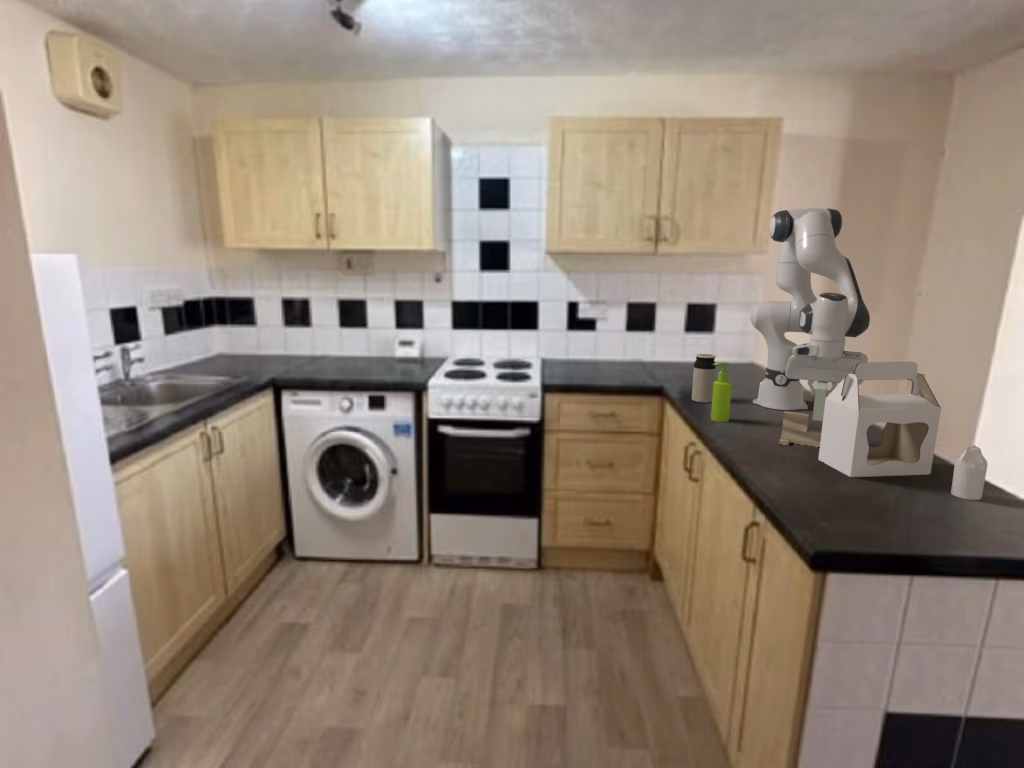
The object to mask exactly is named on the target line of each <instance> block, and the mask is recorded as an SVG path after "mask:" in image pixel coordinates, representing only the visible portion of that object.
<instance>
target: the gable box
mask: <svg viewBox="0 0 1024 768" xmlns="http://www.w3.org/2000/svg"><path fill="white" fill-rule="evenodd" d="M852 370H853V374H848V375H845V378H844V379H843V380H842V381H841V382H840V383H837V387H836V388H835V389H834V390H833V391H832V392H831V393H830V394H829V395H828V396H827V397H826V399H825V408H824V413H823V420H822V425H821V431H820V432H821V441H820V448H819V451H818V457H817V458H818V459H817V460H818V461H819V462H822V463H823V462H824V463H823V464H826V465H827V466H829V467H831V468H832V469H835V470H837V471H838V472H840V473H842V474H843V475H845V476H847V477H849V478H864V477H865V478H866V477H867V478H870V477H872V478H873V477H895V476H896V477H897V476H898V477H899V476H903V477H904V476H923V475H924V476H925V475H926V476H927V475H928V476H929V475H930V476H931V473H932V466H933V460H934V454H935V449H936V448H935V447H936V441H937V435H938V430H939V424H940V417H941V411H942V407H941V406H940V404H939V402H938V400H937V398H936V396H935V395H934V393H933V391H932V389H931V387H930V386H929V384H928V382H927V380H926V374H925V373H919V372H918V363H917V362H914V361H896V362H895V361H892V362H891V361H889V362H887V361H886V362H880V361H879V362H867V363H858V364H857V365H856V366H852ZM862 380H863V381H898V380H901V381H902V380H904V381H907V383H906V385H905V387H904V390H903V392H902V394H900V393H899V394H859V392H860V391H859V385H858V381H862ZM876 423H877V424H878V423H885V426H884V428H883V430H882V433H881V434H882V435H881V438H882V439H881V443H880V444H879V445H878V446H869V441H868V438H867V437H868V436H867V435H868V434H867V431H868V429H869V428H870V426H872V425H874V424H876Z"/></svg>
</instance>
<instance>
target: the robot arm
mask: <svg viewBox="0 0 1024 768" xmlns="http://www.w3.org/2000/svg"><path fill="white" fill-rule="evenodd" d="M842 227H843V217H842V214H841V212H840V211H839V210H837V209H832V208H826V209H825V208H813V207H812V208H811V207H810V208H802V209H801V208H800V209H799V208H798V209H792V210H787V209H784V210H780V211H777V212H775V213H774V214H773V215H772V217H771V220H770V222H769V227H768V230H769V234H770V238H771V239H772V241H774V242H777V243H778V242H779V243H781V244H780V247H779V251H778V257H777V264H776V273H775V274H776V275H775V276H776V277H775V284H776V286H777V287H778V288H779V289H780V290H781V291H783V292H786V293H788V294H790V295H791V296H792V298H793V299H792V301H791V300H790V301H783V300H782V301H779V300H778V301H776V300H772V301H771V300H770V301H762V302H758V303H756V304H755V305H754V306H753V308H751V311H750V316H749V317H750V318H749V319H750V323H751V324H752V326H753V327H754V329H756V330H757V331H758V332H759V333H760V334H761V335H762V336H763V338H764V340H765V342H766V344H767V345H766V346H767V366H766V368H765V371H764V377H765V378H764V379H763V380H761V382H760V383H759V388H758V394H757V395H758V397H757V398H755V399H752V403H753V404H755V405H759V406H761V407H764V408H768V409H772V410H781V411H798V410H808V408H809V407H808V405H807V403H806V402H805V400H804V398H805V395H804V389H805V388H804V386H803V384H802V383H801V381H802V380H803V381H807V385H808V387H809V389H810V390H811V391H810V396H813V397H815V393H816V388H815V387H814V386H813V384H814V382H818V381H822V382H828V383H831V386H832V387H831V388H830V389H827V391H826V397H827V396H828V395H829V394H830V393H831V392H832V391H833V390H834V389H835V388H836V387H837V385H838V384H839V383H840V382H841V381H842V380H843V379H844V378H845V375H848V374H853V370H852V366H856V365H857V364H858V363H868V360H869V359H868V357H867V355H866V354H865V353H863V352H862V351H850V350H849V351H848V350H845V345H846V337H847V338H857V337H858V336H860V335H862V334H863V333H865V332H866V331H867V330H868V328H869V327H870V321H871V318H870V317H871V316H870V312H869V310H868V308H867V306H866V304H865V302H864V299H863V297H862V293H861V291H860V287H859V284H858V281H857V277H856V275H855V272H854V269H853V266H852V264H851V261H850V259H849V258H847V257H846V256H844V255H843V254H842V253H841V252H840V250H839V249H838V248H837V245H836V240H835V239H836V238H837V237H838V236H839V235H840V233H841V230H842ZM812 274H815V275H819V276H822V277H825V278H828V279H829V280H831V281H833V282H834V283H836V285H837V287H838V289H839V293H837V292H824V293H823V292H822V293H819V294H818V296H816V295H815V293H814V292H813V288H812V283H811V282H812V281H811V279H812V278H811V277H812ZM785 333H805V334H808V335H811V337H810V339H809V340H810V342H807V343H802V344H797V343H795V342H793V341H791V340H789V339H787V338H786V336H785ZM800 380H801V381H800ZM863 383H864V380H862V381H858V386H860V385H862V384H863Z"/></svg>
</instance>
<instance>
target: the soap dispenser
mask: <svg viewBox="0 0 1024 768" xmlns="http://www.w3.org/2000/svg"><path fill="white" fill-rule="evenodd" d="M713 365H715V366H716V367H719V366H721V367H720V371H718V372H717V380H715V381H714V382H713V395H712V402H711V411H710V420H711V421H712V422H716V423H717V422H718V423H727V422H730V421H729V420H730V411H731V399H732V398H731V397H732V387H733V383H732V382H730V381H729V375H730V373H729V372H728V371H727V369H728V368H727V367H728V366H730V362H724V361H717V362H715V363H714V364H713Z"/></svg>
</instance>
